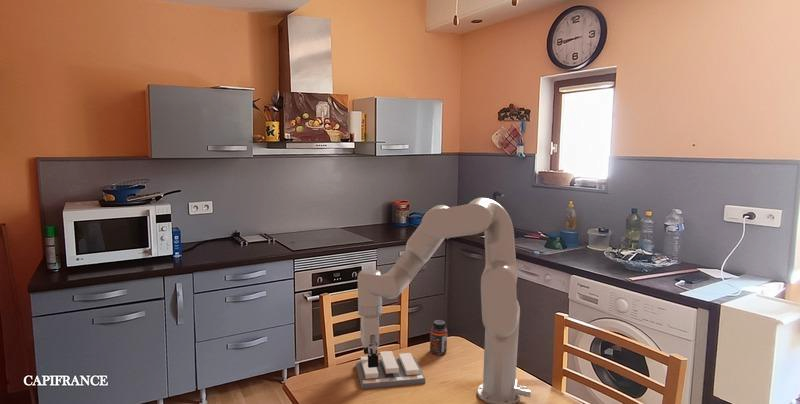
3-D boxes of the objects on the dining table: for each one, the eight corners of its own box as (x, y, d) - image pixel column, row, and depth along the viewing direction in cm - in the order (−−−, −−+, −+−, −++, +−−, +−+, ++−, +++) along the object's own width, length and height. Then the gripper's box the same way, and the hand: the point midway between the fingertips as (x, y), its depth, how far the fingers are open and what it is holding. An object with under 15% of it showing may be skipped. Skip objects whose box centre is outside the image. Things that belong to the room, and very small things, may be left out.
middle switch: (391, 355, 166) (391, 350, 166) (398, 372, 154) (398, 367, 154) (379, 356, 165) (380, 351, 165) (386, 373, 154) (386, 368, 153)
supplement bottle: (426, 353, 175) (427, 322, 173) (435, 347, 180) (436, 317, 178) (441, 357, 171) (442, 326, 170) (449, 351, 176) (450, 321, 175)
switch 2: (410, 357, 167) (410, 352, 167) (418, 374, 156) (418, 369, 156) (398, 358, 167) (398, 353, 166) (406, 375, 155) (406, 370, 155)
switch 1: (372, 360, 165) (372, 355, 165) (378, 377, 153) (378, 373, 153) (360, 361, 164) (360, 356, 164) (365, 379, 152) (365, 374, 152)
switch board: (414, 361, 169) (414, 356, 168) (425, 383, 154) (425, 377, 154) (355, 365, 164) (355, 361, 164) (361, 388, 150) (361, 383, 150)
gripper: (355, 300, 163) (356, 349, 166) (361, 319, 146) (362, 374, 149) (377, 299, 165) (378, 347, 167) (386, 317, 148) (387, 371, 150)
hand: (370, 360), depth 158 cm, fingers open, 9 cm apart
